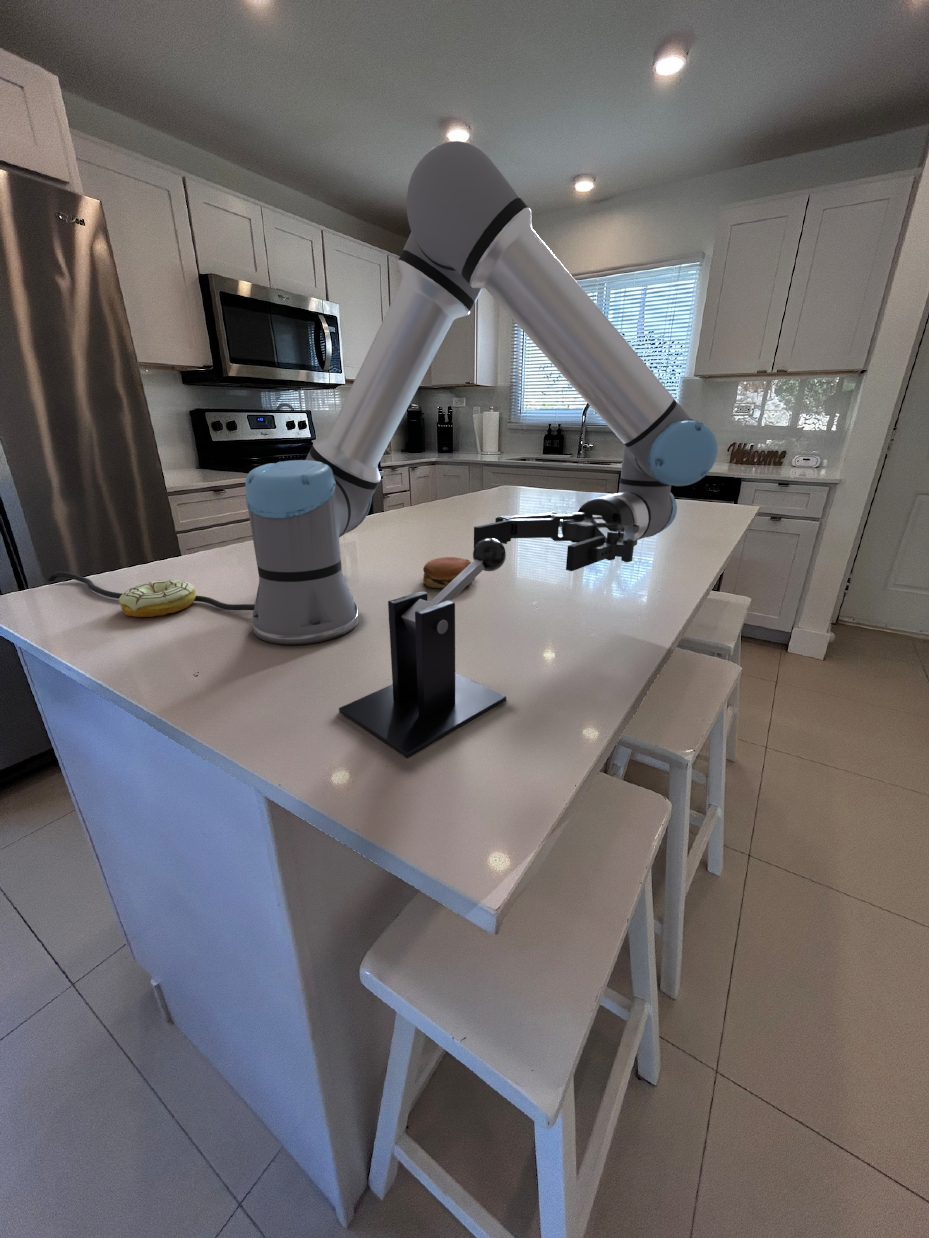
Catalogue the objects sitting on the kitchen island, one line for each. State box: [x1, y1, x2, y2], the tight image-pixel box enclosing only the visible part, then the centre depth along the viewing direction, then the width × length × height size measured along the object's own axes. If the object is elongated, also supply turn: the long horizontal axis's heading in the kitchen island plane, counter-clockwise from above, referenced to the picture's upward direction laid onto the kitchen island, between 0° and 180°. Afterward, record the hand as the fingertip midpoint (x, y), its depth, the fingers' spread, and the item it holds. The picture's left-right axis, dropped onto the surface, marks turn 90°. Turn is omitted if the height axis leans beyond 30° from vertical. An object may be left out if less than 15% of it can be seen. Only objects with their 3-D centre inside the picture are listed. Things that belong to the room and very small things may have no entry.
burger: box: [422, 556, 475, 589], centre depth 96 cm, size 10×9×5 cm
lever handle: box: [401, 538, 507, 636], centre depth 53 cm, size 14×4×4 cm, turn 136°
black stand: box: [338, 590, 507, 759], centre depth 52 cm, size 14×11×13 cm
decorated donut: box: [118, 578, 197, 618], centre depth 83 cm, size 10×11×4 cm
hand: (519, 547), depth 59 cm, fingers open, 13 cm apart
